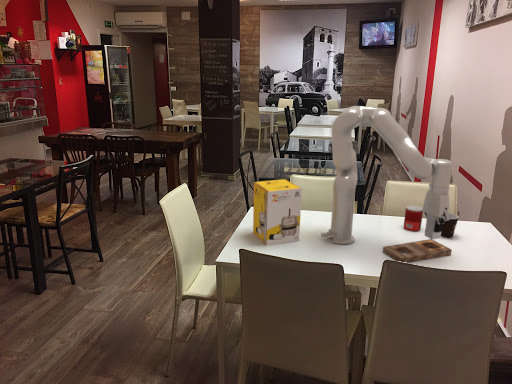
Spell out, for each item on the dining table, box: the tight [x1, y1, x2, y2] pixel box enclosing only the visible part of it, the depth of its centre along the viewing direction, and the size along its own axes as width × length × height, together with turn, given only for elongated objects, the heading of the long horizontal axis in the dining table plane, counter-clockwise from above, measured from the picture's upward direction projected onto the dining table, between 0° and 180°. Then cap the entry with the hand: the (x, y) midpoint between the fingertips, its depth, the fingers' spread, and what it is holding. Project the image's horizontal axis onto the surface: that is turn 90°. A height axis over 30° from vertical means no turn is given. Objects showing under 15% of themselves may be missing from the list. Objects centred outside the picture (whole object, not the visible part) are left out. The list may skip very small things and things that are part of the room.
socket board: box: [382, 238, 453, 264], centre depth 178 cm, size 26×12×3 cm, turn 111°
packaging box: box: [252, 178, 303, 246], centre depth 191 cm, size 16×16×25 cm
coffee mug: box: [441, 212, 459, 239], centre depth 198 cm, size 12×9×10 cm
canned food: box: [403, 205, 424, 232], centre depth 205 cm, size 8×8×11 cm
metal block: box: [424, 214, 442, 240], centre depth 178 cm, size 4×4×10 cm
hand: (433, 229), depth 178 cm, fingers closed on metal block, 4 cm apart
